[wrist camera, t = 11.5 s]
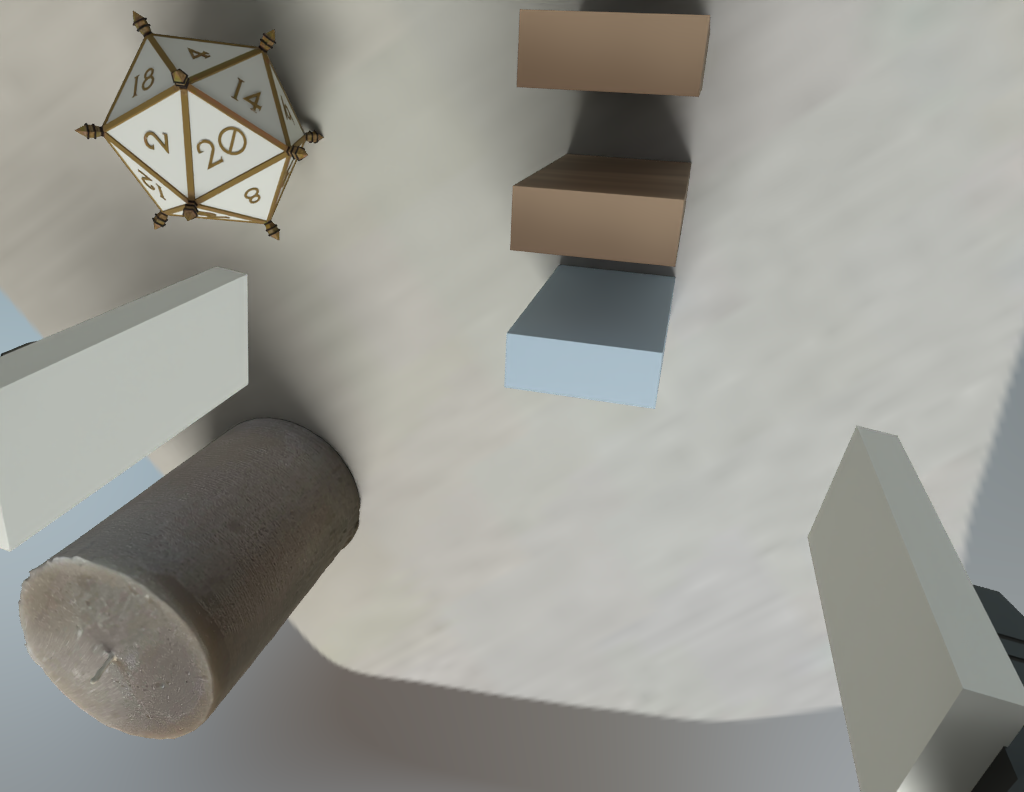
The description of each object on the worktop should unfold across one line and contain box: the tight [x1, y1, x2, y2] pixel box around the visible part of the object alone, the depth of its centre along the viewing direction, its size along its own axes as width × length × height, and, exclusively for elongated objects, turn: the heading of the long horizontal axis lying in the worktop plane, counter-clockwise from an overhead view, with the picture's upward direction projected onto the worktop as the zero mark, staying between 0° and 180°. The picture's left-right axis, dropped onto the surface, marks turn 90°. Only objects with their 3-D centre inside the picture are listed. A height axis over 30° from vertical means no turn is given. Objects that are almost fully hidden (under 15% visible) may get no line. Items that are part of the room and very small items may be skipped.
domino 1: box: [517, 9, 710, 97], centre depth 24 cm, size 2×5×10 cm, turn 87°
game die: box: [75, 11, 324, 240], centre depth 30 cm, size 9×8×10 cm
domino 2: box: [510, 154, 691, 267], centre depth 26 cm, size 2×5×10 cm, turn 88°
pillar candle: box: [19, 418, 360, 739], centre depth 36 cm, size 10×10×15 cm
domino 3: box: [505, 265, 675, 409], centre depth 28 cm, size 2×5×10 cm, turn 88°
